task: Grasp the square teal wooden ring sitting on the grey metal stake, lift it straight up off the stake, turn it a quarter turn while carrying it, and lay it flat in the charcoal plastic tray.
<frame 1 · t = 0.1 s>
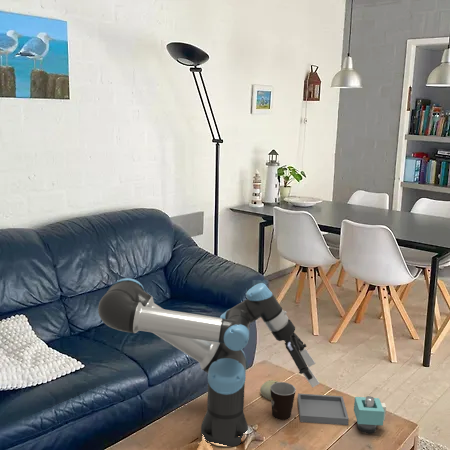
hand: (313, 374, 179), 15 cm above the table, tool tilted 35°, fingers open, 13 cm apart
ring: (367, 417, 175), point 4 cm above the table, touching stake
sea urchin shell: (272, 395, 195), on the table
stake: (366, 428, 176), on the table
tray: (321, 411, 185), on the table
coffee mug: (281, 412, 184), on the table
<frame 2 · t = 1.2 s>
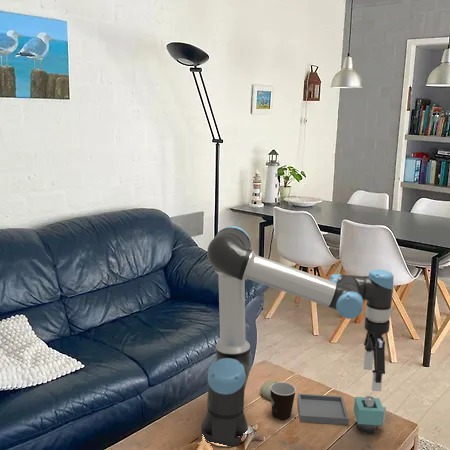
hand: (371, 379, 172), 18 cm above the table, tool pointing down, fingers open, 13 cm apart
nothing on the table moved.
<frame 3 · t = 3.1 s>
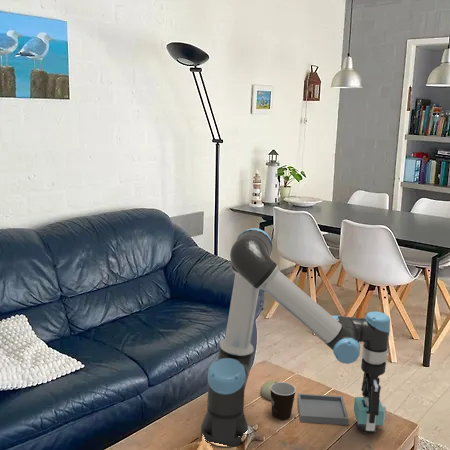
hand: (367, 422, 176), 2 cm above the table, tool pointing down, fingers closed on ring, 8 cm apart
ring: (367, 417, 175), point 4 cm above the table, touching gripper, stake
everything else where it was.
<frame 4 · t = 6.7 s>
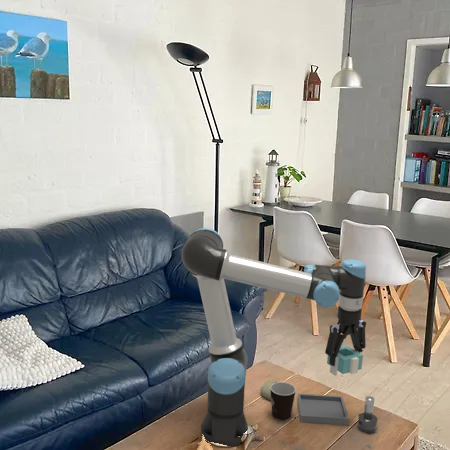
hand: (343, 370, 177), 18 cm above the table, tool pointing down, fingers closed on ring, 8 cm apart
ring: (344, 366, 177), point 20 cm above the table, touching gripper
everything else where it was.
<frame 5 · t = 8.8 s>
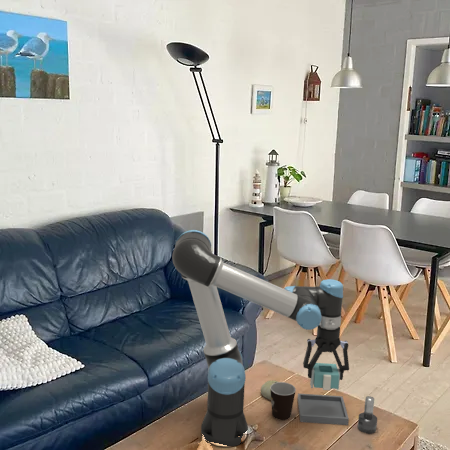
hand: (324, 386, 183), 10 cm above the table, tool pointing down, fingers closed on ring, 8 cm apart
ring: (324, 382, 182), point 11 cm above the table, touching gripper
everything else where it was.
when the fingers open (2 cm above the table, at t = 10.7 s): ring drops 3 cm, resting on tray.
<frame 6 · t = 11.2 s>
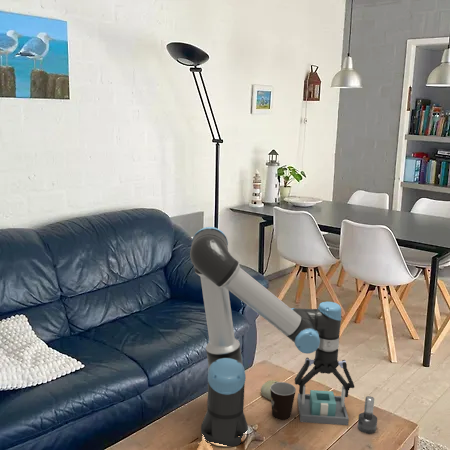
hand: (322, 403, 184), 3 cm above the table, tool pointing down, fingers open, 13 cm apart
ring: (321, 409, 185), point 1 cm above the table, touching tray
everything else where it was.
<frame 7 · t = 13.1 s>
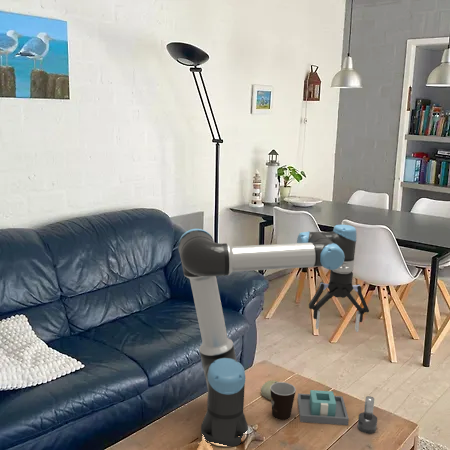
hand: (336, 329, 184), 29 cm above the table, tool pointing down, fingers open, 13 cm apart
nothing on the table moved.
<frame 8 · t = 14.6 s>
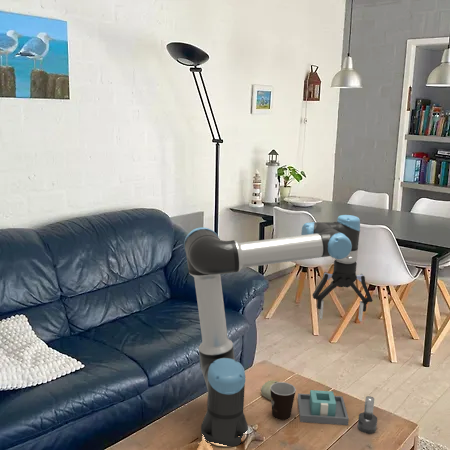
hand: (340, 318, 185), 32 cm above the table, tool pointing down, fingers open, 13 cm apart
nothing on the table moved.
at the end: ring inside the target area on the tray (0.0 cm from its centre), point 0.8 cm above the tray's base; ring tilted 0°; the gripper is holding nothing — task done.
